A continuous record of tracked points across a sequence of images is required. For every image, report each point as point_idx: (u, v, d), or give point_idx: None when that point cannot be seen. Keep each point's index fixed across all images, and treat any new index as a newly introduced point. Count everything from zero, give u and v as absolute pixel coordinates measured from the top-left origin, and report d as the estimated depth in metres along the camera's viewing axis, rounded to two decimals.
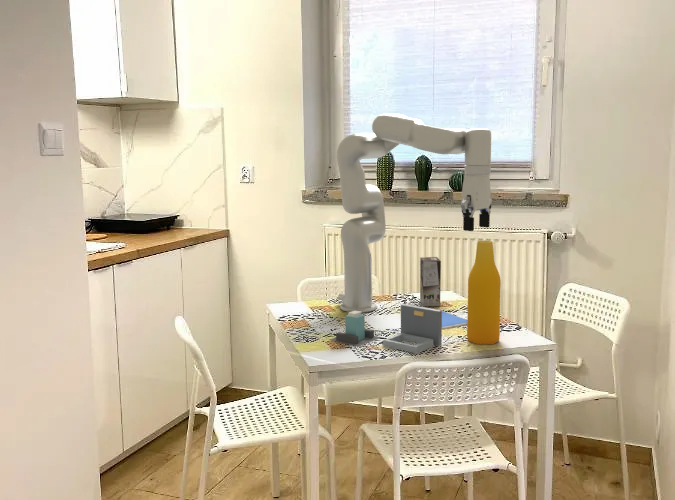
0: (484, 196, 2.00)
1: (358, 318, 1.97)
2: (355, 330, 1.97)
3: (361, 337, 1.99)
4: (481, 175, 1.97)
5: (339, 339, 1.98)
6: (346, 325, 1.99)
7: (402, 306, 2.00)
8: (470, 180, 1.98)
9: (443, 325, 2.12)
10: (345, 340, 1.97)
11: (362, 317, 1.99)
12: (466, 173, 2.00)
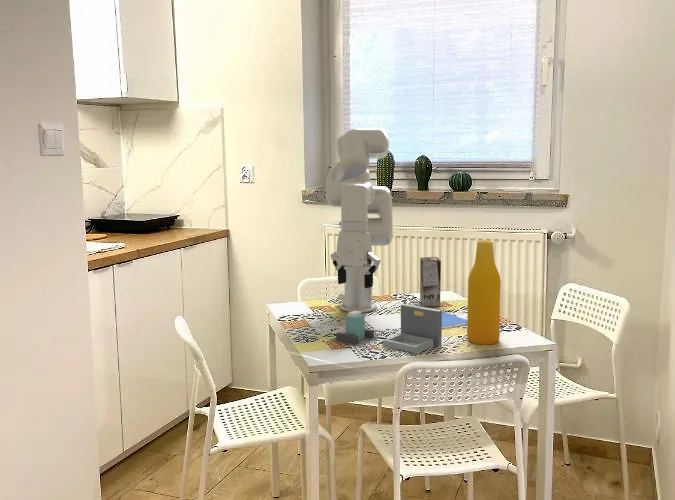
0: None
1: (358, 318, 1.97)
2: (355, 330, 1.97)
3: (361, 337, 1.99)
4: None
5: (339, 339, 1.98)
6: (346, 325, 1.99)
7: (402, 306, 2.00)
8: (367, 236, 1.92)
9: (443, 325, 2.12)
10: (345, 340, 1.97)
11: (362, 317, 1.99)
12: (359, 230, 1.91)
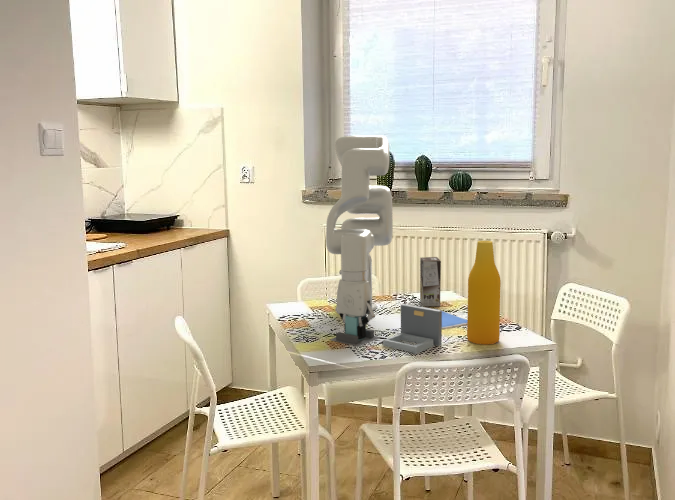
0: None
1: None
2: (355, 330, 1.97)
3: None
4: None
5: (339, 339, 1.98)
6: (346, 325, 1.99)
7: (402, 306, 2.00)
8: (367, 285, 1.95)
9: (443, 325, 2.12)
10: (345, 340, 1.97)
11: (362, 317, 1.99)
12: (359, 280, 1.94)
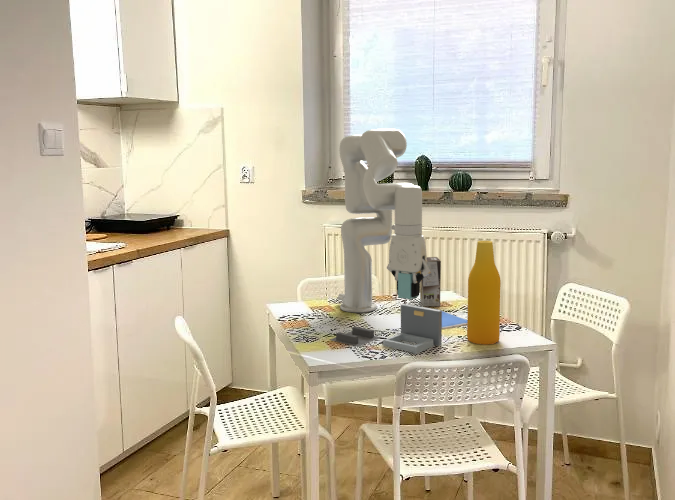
0: None
1: None
2: (409, 287, 1.88)
3: None
4: None
5: (339, 339, 1.98)
6: (399, 282, 1.90)
7: (402, 306, 2.00)
8: (422, 239, 1.85)
9: (443, 325, 2.12)
10: (345, 340, 1.97)
11: None
12: (414, 233, 1.84)
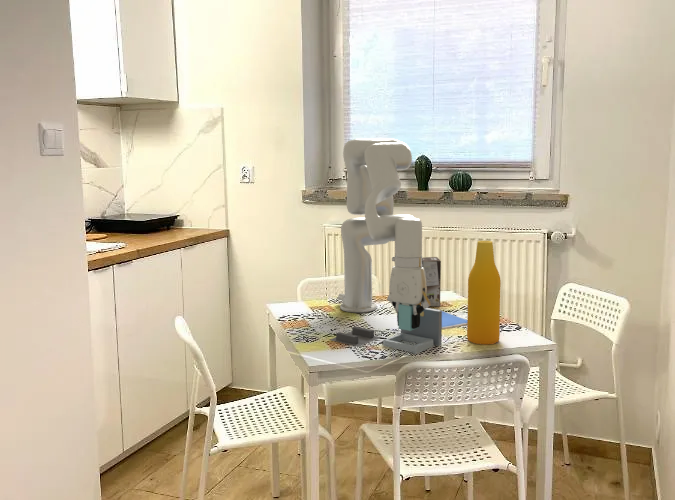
0: None
1: None
2: (409, 319, 1.89)
3: None
4: None
5: (339, 339, 1.98)
6: (399, 314, 1.91)
7: None
8: (422, 272, 1.87)
9: (443, 325, 2.12)
10: (345, 340, 1.97)
11: (416, 305, 1.91)
12: (414, 266, 1.86)
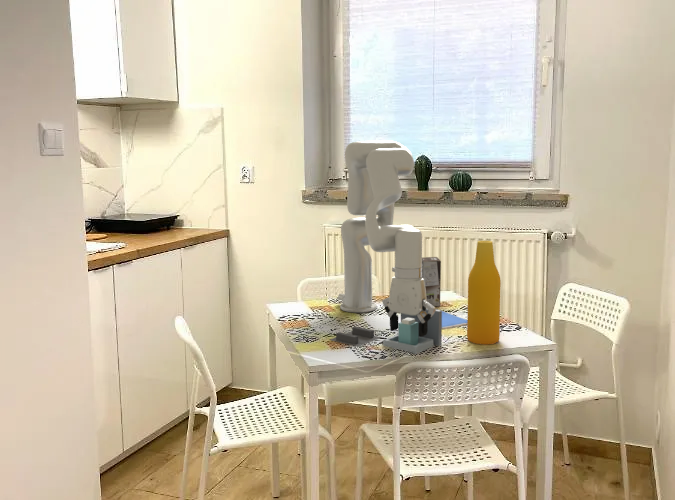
0: None
1: (412, 325, 1.90)
2: (409, 338, 1.90)
3: None
4: None
5: (339, 339, 1.98)
6: (399, 333, 1.92)
7: None
8: (422, 283, 1.87)
9: (443, 325, 2.12)
10: (345, 340, 1.97)
11: (416, 324, 1.92)
12: (414, 277, 1.86)
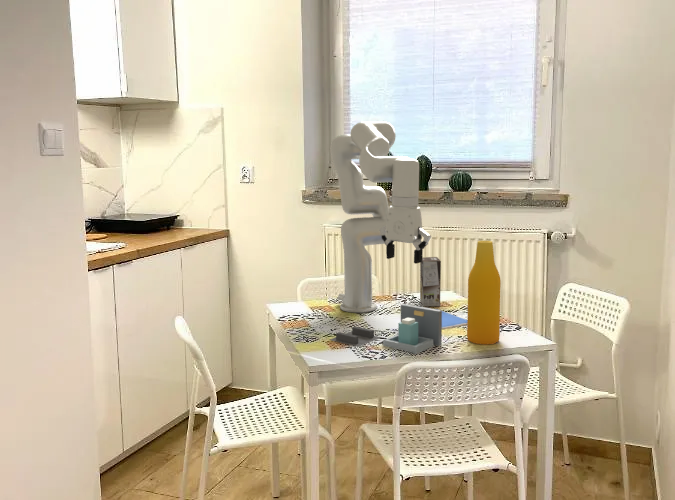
0: None
1: (412, 325, 1.90)
2: (409, 338, 1.90)
3: None
4: None
5: (339, 339, 1.98)
6: (399, 333, 1.92)
7: (402, 306, 2.00)
8: (418, 211, 1.93)
9: (443, 325, 2.12)
10: (345, 340, 1.97)
11: (416, 324, 1.92)
12: (410, 205, 1.92)
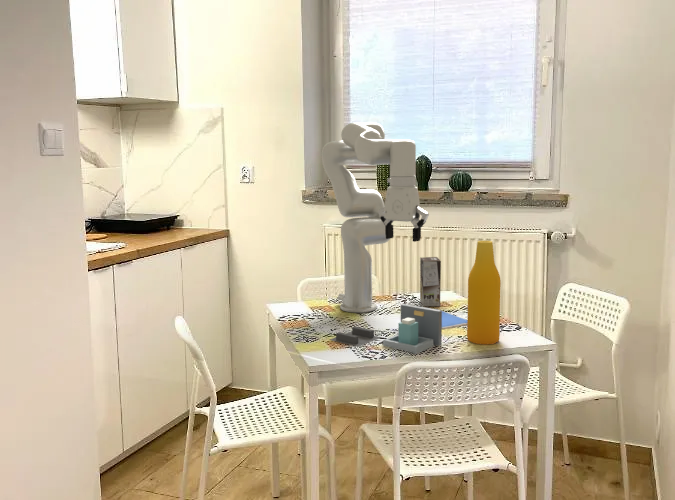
0: None
1: (412, 325, 1.90)
2: (409, 338, 1.90)
3: None
4: None
5: (339, 339, 1.98)
6: (399, 333, 1.92)
7: (402, 306, 2.00)
8: (416, 190, 1.99)
9: (443, 325, 2.12)
10: (345, 340, 1.97)
11: (416, 324, 1.92)
12: (408, 184, 1.98)
